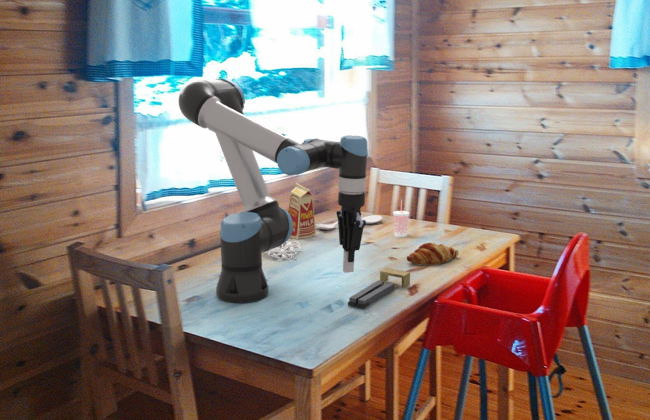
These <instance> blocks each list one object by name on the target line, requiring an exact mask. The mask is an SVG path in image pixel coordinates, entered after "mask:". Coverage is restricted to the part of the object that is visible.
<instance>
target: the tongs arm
mask: <svg viewBox="0 0 650 420" xmlns="http://www.w3.org/2000/svg"><path fill="white" fill-rule="evenodd" d="M384 283H385V282H384V281H380V279H378V280H377V281H374V282H373V283H371V284H370V285H368V286H367V287H365V288H363V289H362V290H359V291H358V292H356V293H355V294H353V295H352V296H350V297H349V300H348V302H347V306H349V307H353V308H357V307H356V306H357V303H358V299H360V298H362V297H363V296H365V295H367V294H369V293H370V292H372V291H374V290H376V289H378V288H379V287H381V286H383V285H384Z"/></svg>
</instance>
